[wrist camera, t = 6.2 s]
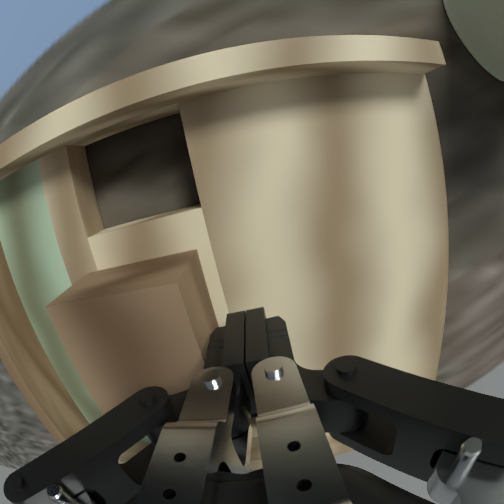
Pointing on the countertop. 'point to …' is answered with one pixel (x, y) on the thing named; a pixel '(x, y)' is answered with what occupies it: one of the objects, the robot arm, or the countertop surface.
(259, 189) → the board
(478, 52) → the can
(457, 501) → the robot arm
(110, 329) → the block
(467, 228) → the countertop surface
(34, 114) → the countertop surface
